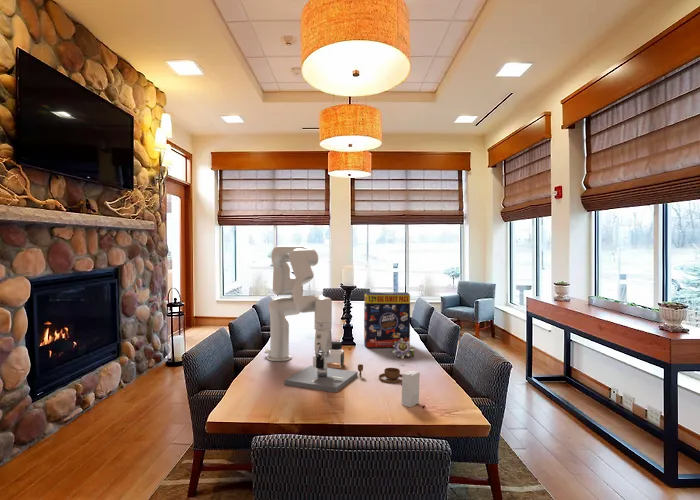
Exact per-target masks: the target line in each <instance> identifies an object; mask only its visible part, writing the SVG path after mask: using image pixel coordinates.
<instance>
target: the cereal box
mask: <svg viewBox="0 0 700 500" xmlns="http://www.w3.org/2000/svg"><path fill="white" fill-rule="evenodd" d="M363 311H364V312H363V313H364V314H363V315H364V316H363V328H364V329H363V331H364V332H363V333H364V334H363V341H364V342H363V343H364V344H363V345H364V346H365V348H367V349H383V348H384V349H385V348H386V349H387V348H389V349H391V348H392V349H393V348H394V347H393V346H392V345H393V343H394V341H395V342H397V341H398V340H400V339H401V338H403V340H404V341H405V342H406V341H410V343H411V294H410V293H408V292H400V291H399V292H397V291H395V292H393V291H391V292H387V291H385V292H384V291H382V292H381V291H380V292H379V291H377V292H376V291H375V292H374V291H373V292H371V291H370V292H365V293H364V307H363ZM410 343H409V345H411V344H410ZM394 345H395V344H394ZM394 349H395V348H394Z"/></svg>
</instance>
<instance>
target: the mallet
mask: <svg viewBox="0 0 700 500" xmlns="http://www.w3.org/2000/svg"><path fill="white" fill-rule="evenodd" d="M320 355H321V354H320ZM312 366H313V367H315V368H316V354H315V353H314V354H313V356H312ZM330 367H331V368H333V369H341V368H342V367H341V364H339V363H332V354H330V353H323V368H325V369H327V368H330ZM340 367H341V368H340Z"/></svg>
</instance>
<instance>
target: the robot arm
mask: <svg viewBox="0 0 700 500" xmlns="http://www.w3.org/2000/svg"><path fill="white" fill-rule="evenodd" d="M271 262H272V268H273V273H272V292H273V294H274V295H276V296H285V297H275V298H273V299H271V300H270V302H269V303H268V312H269V320H270V327H269V329H270V340H269V341H270V345H269V346H270V348H265V349H264V354H268V355H267V357H266V358H267V360H269V361H271V362H285V361H290V360H291V359H292V358H293V356H292V355H291V354H290V351H289V350H290V325H289V324H290V323H289V321H288V320H287V319H286V317H287V316H296V315H300V313H302V314H306V313H314V323H313V324H314V331H315V334H314V355H315V354H316V368H320V369H323V353H329V351H330V350H331V348H332V341H333V340H332V339H333V338H332V319H333V317H332V316H333V314H332V313H333V312H332V311H333V310H332V307H333V301H332V298H331V297H328V296H324V295H322V294H311V295H304V285H306V284H308V283H309V282H311V280H313V278H314V272H313V269H312V267H314V266H317V264H318V263H319V255H318V252H317V251H316V249H313V248H311V247H309V246H306V245H302V244H301V245H300V244H299V245H297V244H295V245H290V244H285V245H283V244H282V245H276V246H275V247H273V249H272V251H271ZM289 263H290V265H291V267H290V266H289ZM291 269H292V271H293V273H294V276H291ZM287 296H288V297H287ZM320 354H321V355H320Z"/></svg>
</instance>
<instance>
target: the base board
mask: <svg viewBox="0 0 700 500" xmlns="http://www.w3.org/2000/svg"><path fill="white" fill-rule="evenodd" d="M358 372H359V371H354V370H348V369H341V368H330V367H328V368H327V377H318V376H317V368H315V367H313V365H310V366H307V367H306V368H304V369H302V370H300V371H299V372H296V373H294V374H292V375H291V376H288V378H284V383H283V384H284V386H293V387H297V388H298V387H299V388H303V389H304V388H305V389H309V390H310V389H311V390H316V391H323V392H330V393H335V392H336V393H338V392H339V391H340V390H341V389H342V388H344V387H345V386H346V385H348V384H349V383H351V381H353V380H355V379H356V378H357V377H358V375H359V374H358Z"/></svg>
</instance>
